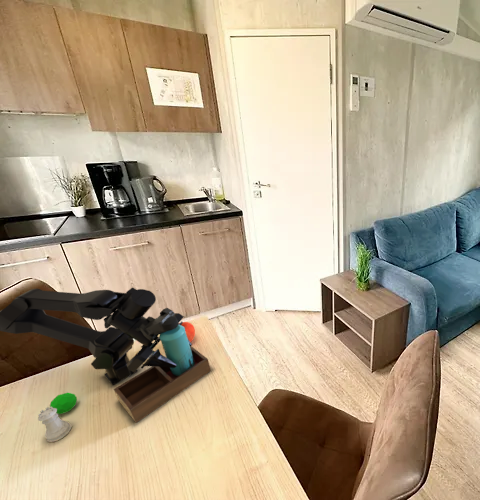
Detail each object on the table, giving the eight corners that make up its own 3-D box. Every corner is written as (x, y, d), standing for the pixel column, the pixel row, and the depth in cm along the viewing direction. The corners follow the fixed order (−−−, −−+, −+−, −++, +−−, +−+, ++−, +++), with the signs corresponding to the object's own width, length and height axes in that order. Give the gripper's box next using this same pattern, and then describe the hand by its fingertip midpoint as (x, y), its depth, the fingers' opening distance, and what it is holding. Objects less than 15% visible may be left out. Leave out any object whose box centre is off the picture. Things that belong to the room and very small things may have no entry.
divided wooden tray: (119, 401, 78) (113, 389, 76) (192, 356, 93) (189, 344, 91) (136, 423, 72) (130, 410, 70) (211, 370, 87) (207, 358, 85)
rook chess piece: (76, 428, 71) (63, 406, 68) (54, 445, 67) (39, 423, 64) (64, 422, 72) (51, 400, 69) (42, 439, 68) (27, 417, 65)
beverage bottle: (195, 376, 85) (181, 324, 76) (170, 383, 82) (152, 330, 73) (196, 360, 90) (183, 310, 81) (172, 366, 88) (156, 315, 79)
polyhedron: (54, 408, 76) (47, 396, 74) (79, 397, 79) (72, 385, 77) (54, 421, 72) (46, 409, 70) (79, 409, 75) (72, 397, 73)
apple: (179, 334, 102) (174, 316, 99) (201, 334, 102) (196, 316, 99) (165, 350, 95) (159, 331, 92) (189, 350, 95) (183, 331, 92)
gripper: (124, 331, 68) (180, 366, 72) (170, 290, 85) (213, 320, 89) (102, 356, 71) (158, 388, 76) (151, 311, 88) (194, 339, 93)
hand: (183, 355), depth 83 cm, fingers open, 8 cm apart
